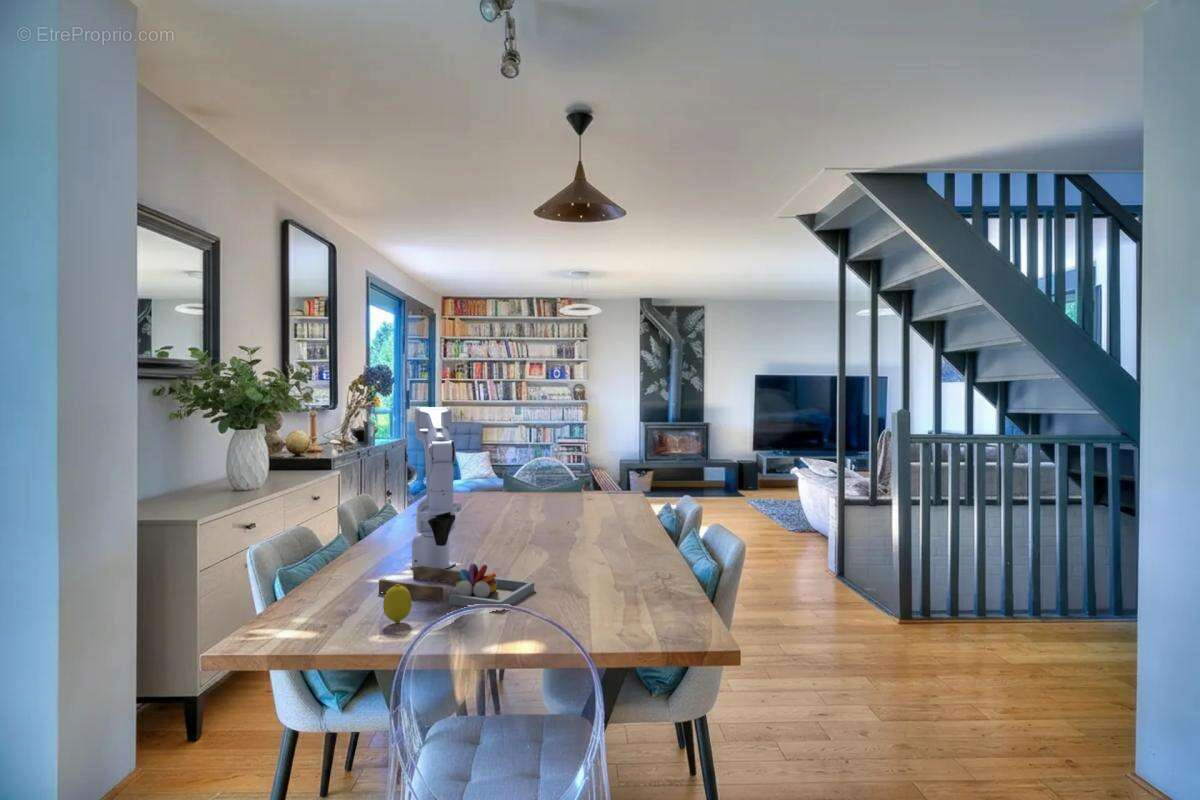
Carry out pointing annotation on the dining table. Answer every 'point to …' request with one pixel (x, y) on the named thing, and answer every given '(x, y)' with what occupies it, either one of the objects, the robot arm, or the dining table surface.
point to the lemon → (397, 603)
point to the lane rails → (422, 589)
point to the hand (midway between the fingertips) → (441, 545)
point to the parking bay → (521, 591)
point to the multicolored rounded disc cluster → (476, 582)
